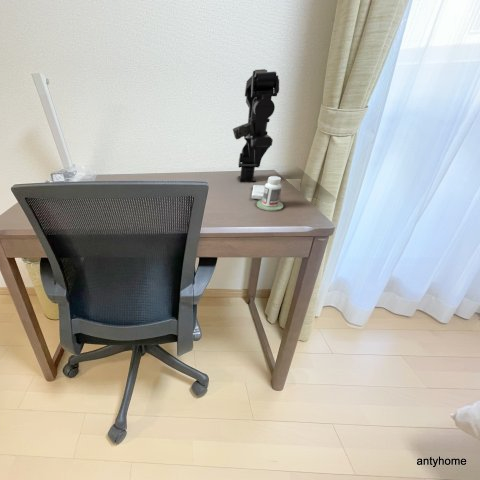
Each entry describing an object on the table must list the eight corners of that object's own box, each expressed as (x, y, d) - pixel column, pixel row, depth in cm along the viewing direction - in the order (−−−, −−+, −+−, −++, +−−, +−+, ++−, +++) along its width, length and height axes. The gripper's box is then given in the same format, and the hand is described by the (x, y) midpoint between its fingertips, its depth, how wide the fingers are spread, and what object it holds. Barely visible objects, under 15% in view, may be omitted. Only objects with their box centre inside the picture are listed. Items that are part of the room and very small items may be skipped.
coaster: (254, 200, 97) (254, 199, 97) (278, 200, 96) (279, 199, 96) (259, 211, 90) (259, 209, 89) (286, 210, 89) (286, 209, 89)
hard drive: (273, 190, 105) (274, 200, 95) (252, 188, 108) (251, 198, 98) (274, 186, 104) (275, 196, 94) (253, 184, 107) (251, 194, 97)
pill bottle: (279, 202, 94) (284, 176, 88) (276, 208, 90) (281, 181, 85) (263, 200, 96) (268, 174, 91) (260, 205, 92) (264, 179, 87)
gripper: (232, 113, 97) (228, 155, 105) (240, 120, 81) (235, 168, 90) (262, 111, 96) (256, 154, 104) (276, 118, 80) (268, 167, 89)
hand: (253, 160), depth 97 cm, fingers open, 9 cm apart
